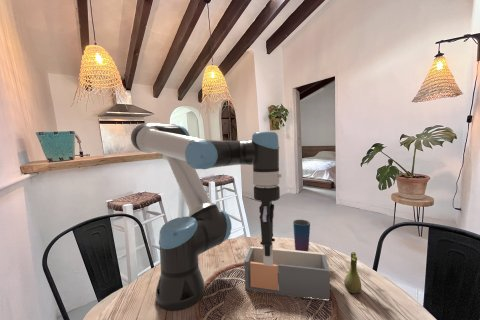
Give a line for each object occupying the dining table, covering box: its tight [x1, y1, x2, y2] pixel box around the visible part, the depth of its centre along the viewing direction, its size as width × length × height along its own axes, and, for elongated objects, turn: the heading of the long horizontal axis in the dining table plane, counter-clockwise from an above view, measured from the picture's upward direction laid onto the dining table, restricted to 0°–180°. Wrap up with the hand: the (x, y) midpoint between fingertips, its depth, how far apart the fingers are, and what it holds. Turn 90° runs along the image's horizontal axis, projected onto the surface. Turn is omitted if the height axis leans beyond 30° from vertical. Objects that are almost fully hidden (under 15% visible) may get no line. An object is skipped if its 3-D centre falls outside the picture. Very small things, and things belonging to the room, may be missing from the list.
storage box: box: [244, 246, 331, 299], centre depth 72 cm, size 26×11×10 cm, turn 76°
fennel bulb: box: [343, 251, 362, 294], centre depth 68 cm, size 6×5×12 cm
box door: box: [250, 262, 278, 291], centre depth 69 cm, size 9×1×8 cm, turn 76°
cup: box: [292, 219, 311, 252], centre depth 89 cm, size 7×7×15 cm
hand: (268, 264), depth 63 cm, fingers closed
